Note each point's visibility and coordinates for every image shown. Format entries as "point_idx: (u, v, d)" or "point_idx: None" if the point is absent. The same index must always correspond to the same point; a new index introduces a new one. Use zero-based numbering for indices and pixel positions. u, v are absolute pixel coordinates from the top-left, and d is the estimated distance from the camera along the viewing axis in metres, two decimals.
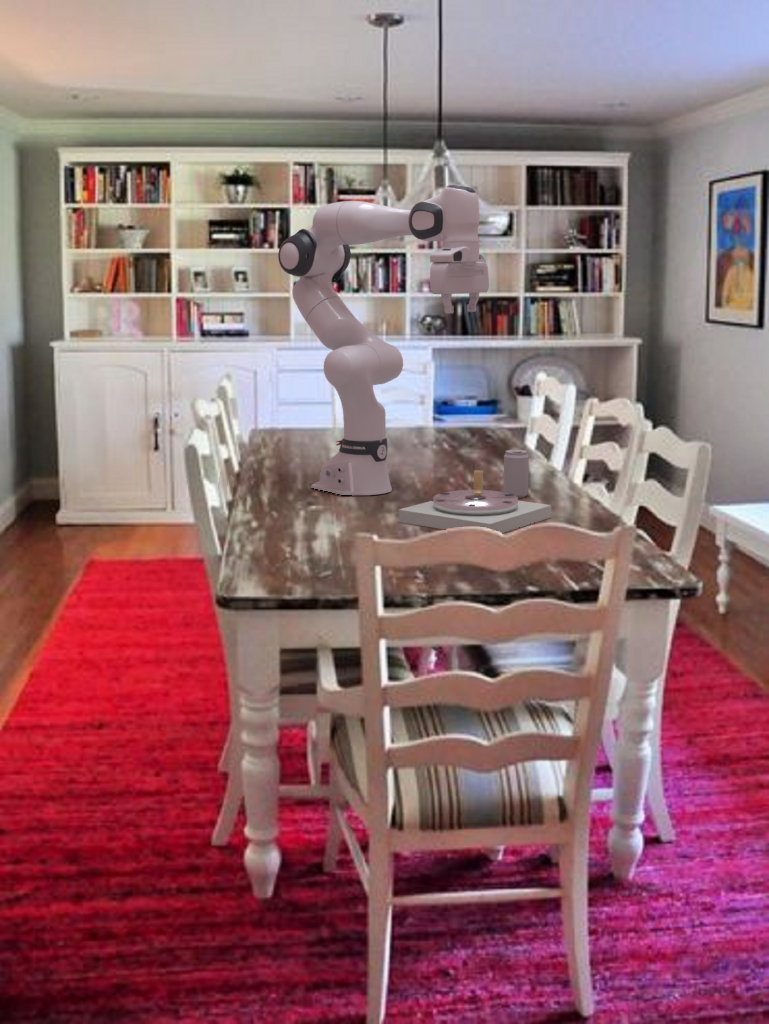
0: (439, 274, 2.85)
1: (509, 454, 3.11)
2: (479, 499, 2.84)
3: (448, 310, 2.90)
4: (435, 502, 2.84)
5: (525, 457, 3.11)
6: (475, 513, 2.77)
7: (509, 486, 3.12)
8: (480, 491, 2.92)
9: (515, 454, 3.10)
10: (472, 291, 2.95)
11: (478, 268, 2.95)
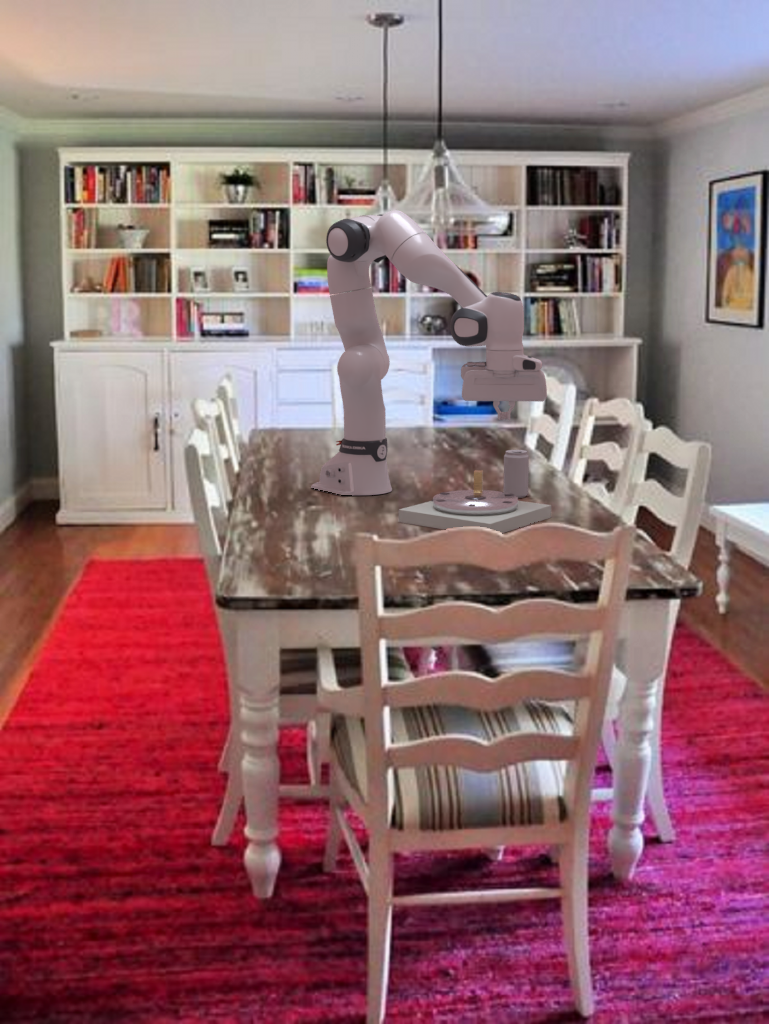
0: (545, 381, 2.87)
1: (509, 454, 3.11)
2: (479, 499, 2.84)
3: None
4: (435, 502, 2.84)
5: (525, 457, 3.11)
6: (475, 513, 2.77)
7: (509, 486, 3.12)
8: (480, 491, 2.92)
9: (515, 454, 3.10)
10: None
11: None
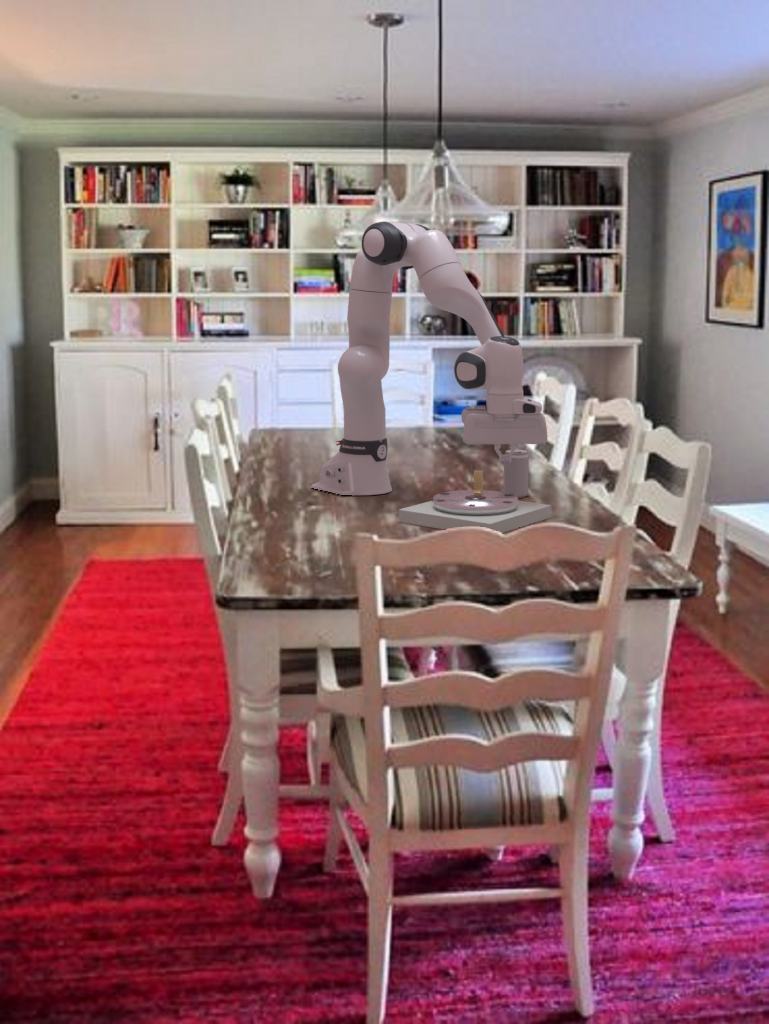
0: None
1: None
2: (479, 499, 2.84)
3: None
4: (435, 502, 2.84)
5: (525, 457, 3.11)
6: (475, 513, 2.77)
7: (509, 486, 3.12)
8: (480, 491, 2.92)
9: (515, 454, 3.10)
10: None
11: None
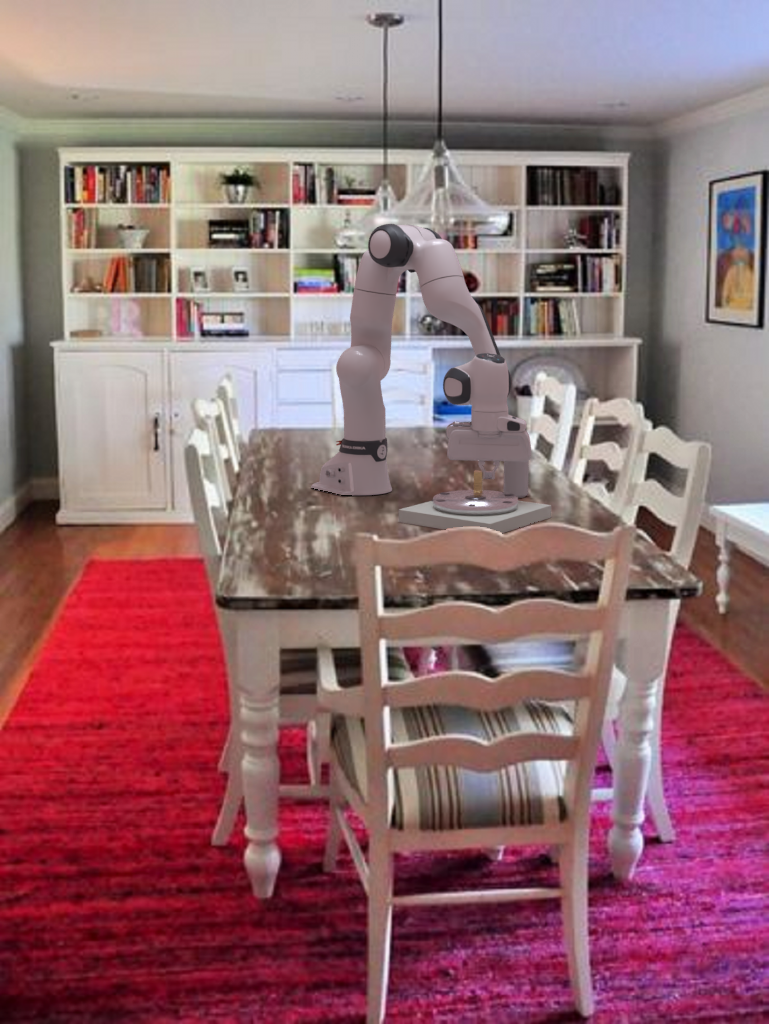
0: None
1: None
2: (479, 499, 2.84)
3: None
4: (435, 502, 2.84)
5: None
6: (475, 513, 2.77)
7: (509, 486, 3.12)
8: (480, 491, 2.92)
9: None
10: None
11: None
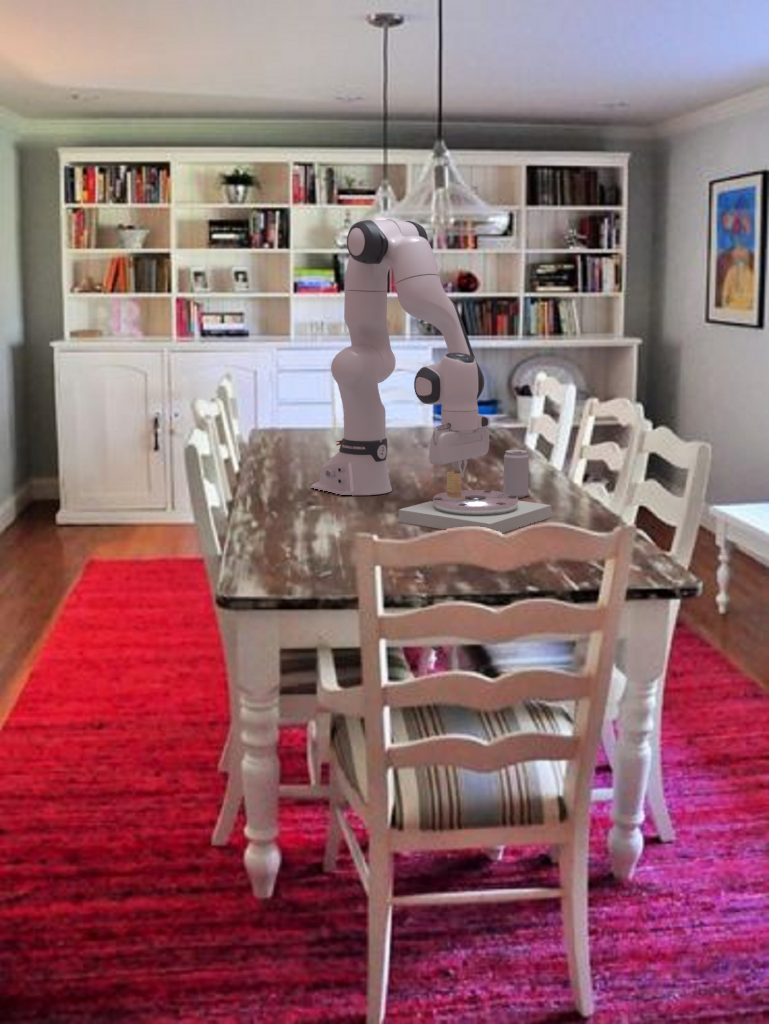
0: None
1: (509, 454, 3.11)
2: (485, 498, 2.85)
3: None
4: (457, 507, 2.78)
5: (525, 457, 3.11)
6: (506, 511, 2.79)
7: (509, 486, 3.12)
8: (459, 492, 2.92)
9: (515, 454, 3.10)
10: None
11: None
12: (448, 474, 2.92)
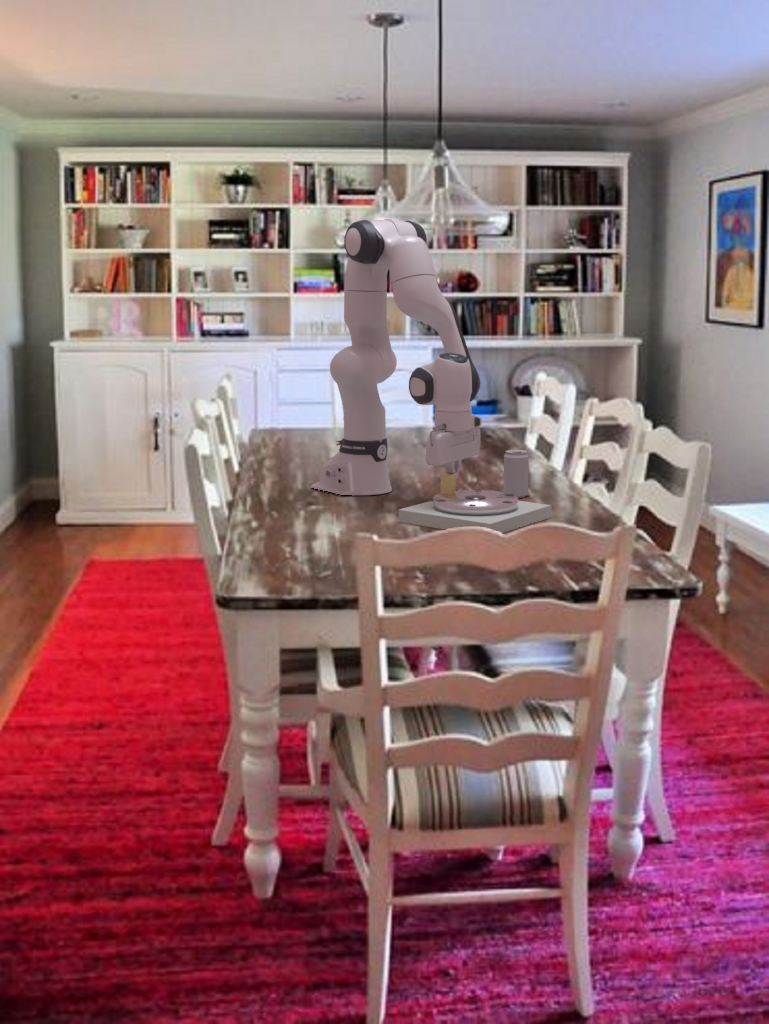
0: None
1: (509, 454, 3.11)
2: (485, 497, 2.86)
3: None
4: (468, 508, 2.77)
5: (525, 457, 3.11)
6: (512, 509, 2.81)
7: (509, 486, 3.12)
8: (454, 493, 2.91)
9: (515, 454, 3.10)
10: None
11: None
12: (442, 475, 2.90)
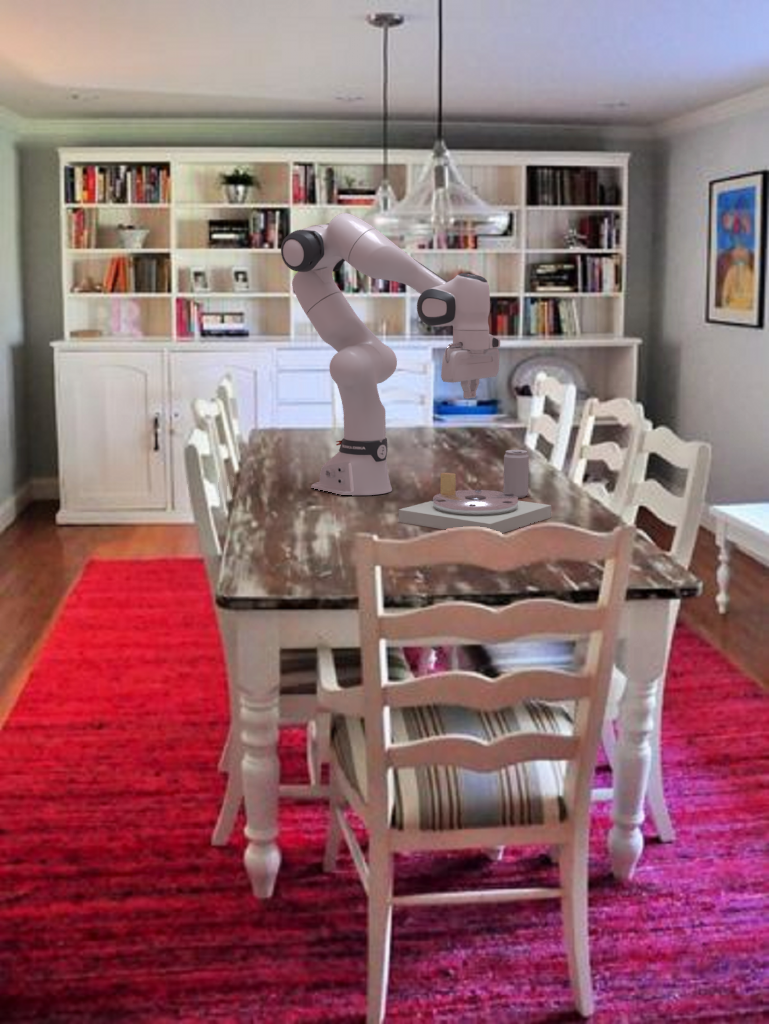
0: None
1: (509, 454, 3.11)
2: (485, 497, 2.86)
3: None
4: (468, 508, 2.77)
5: (525, 457, 3.11)
6: (512, 509, 2.81)
7: (509, 486, 3.12)
8: (454, 493, 2.91)
9: (515, 454, 3.10)
10: None
11: None
12: (442, 475, 2.90)
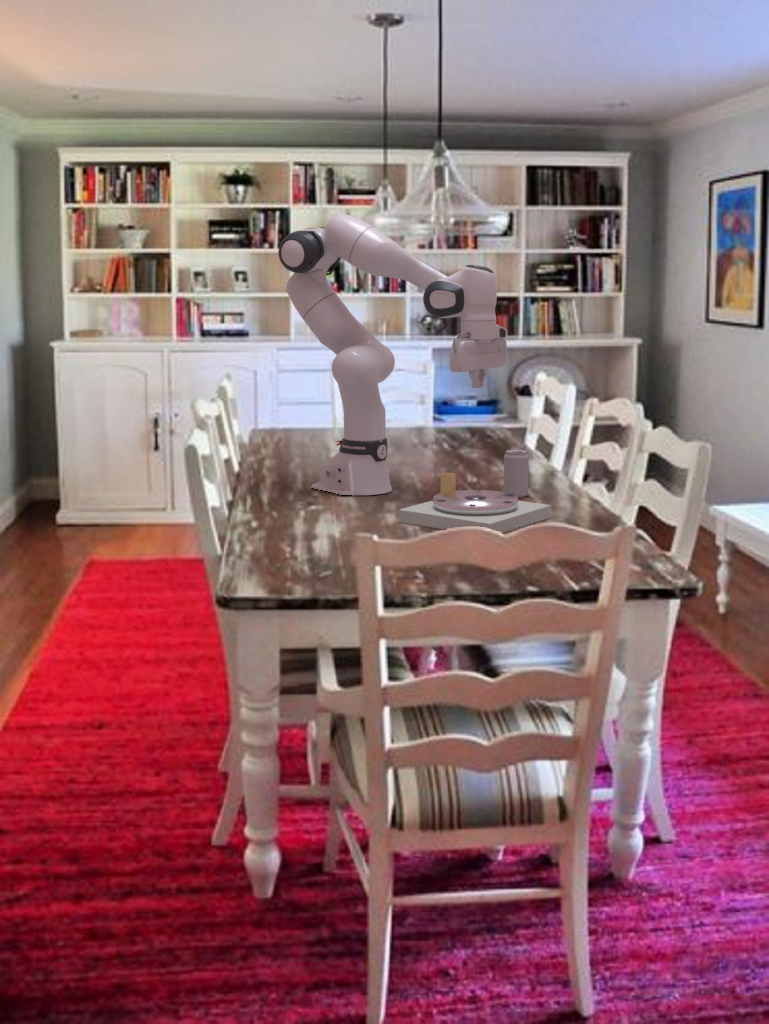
0: None
1: (509, 454, 3.11)
2: (485, 497, 2.86)
3: None
4: (468, 508, 2.77)
5: (525, 457, 3.11)
6: (512, 509, 2.81)
7: (509, 486, 3.12)
8: (454, 493, 2.91)
9: (515, 454, 3.10)
10: None
11: None
12: (442, 475, 2.90)
